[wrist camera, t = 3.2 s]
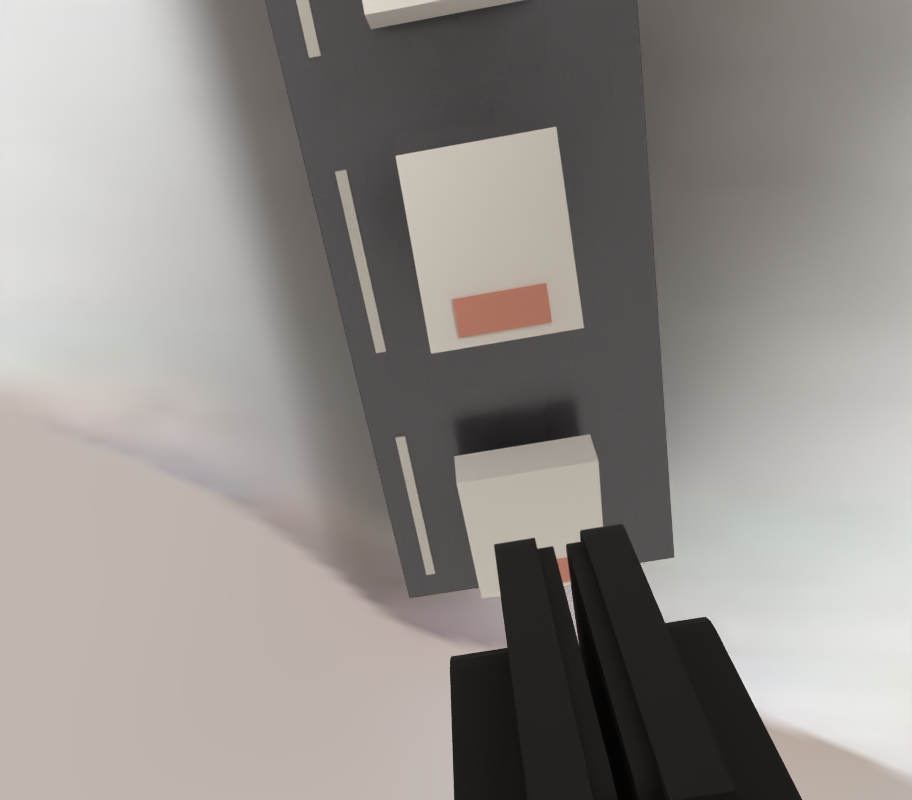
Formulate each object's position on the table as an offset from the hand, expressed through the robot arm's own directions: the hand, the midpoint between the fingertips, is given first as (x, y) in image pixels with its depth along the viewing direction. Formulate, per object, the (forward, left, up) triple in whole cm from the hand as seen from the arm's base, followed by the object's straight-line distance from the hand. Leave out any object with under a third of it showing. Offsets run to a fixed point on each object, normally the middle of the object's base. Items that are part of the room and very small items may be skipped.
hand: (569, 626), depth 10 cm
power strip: (-5, 0, -17) cm, 18 cm away
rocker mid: (-2, 0, -13) cm, 13 cm away
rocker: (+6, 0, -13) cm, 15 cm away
